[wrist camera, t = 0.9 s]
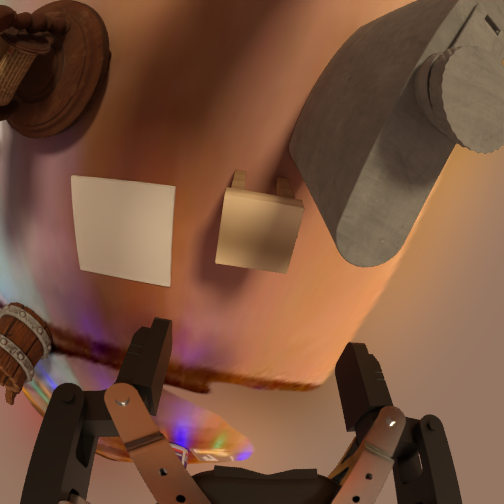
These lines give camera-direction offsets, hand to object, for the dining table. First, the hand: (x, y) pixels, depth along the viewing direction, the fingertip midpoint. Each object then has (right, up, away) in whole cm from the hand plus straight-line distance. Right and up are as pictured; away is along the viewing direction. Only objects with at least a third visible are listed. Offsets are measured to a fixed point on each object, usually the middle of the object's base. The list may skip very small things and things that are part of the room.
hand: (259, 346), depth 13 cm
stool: (0, +9, +16) cm, 18 cm away
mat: (-15, +6, +18) cm, 24 cm away
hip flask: (+7, +19, +11) cm, 23 cm away
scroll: (-20, +23, +8) cm, 32 cm away
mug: (-39, -10, +28) cm, 49 cm away
